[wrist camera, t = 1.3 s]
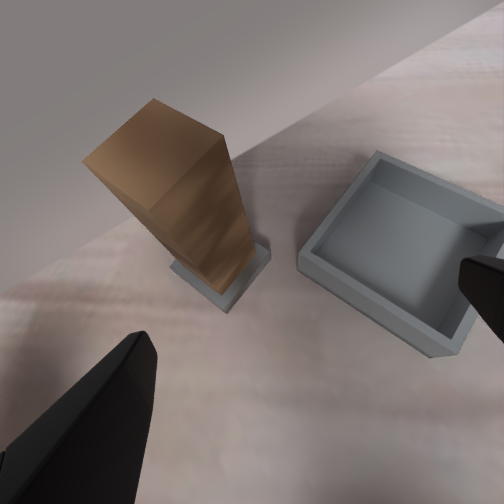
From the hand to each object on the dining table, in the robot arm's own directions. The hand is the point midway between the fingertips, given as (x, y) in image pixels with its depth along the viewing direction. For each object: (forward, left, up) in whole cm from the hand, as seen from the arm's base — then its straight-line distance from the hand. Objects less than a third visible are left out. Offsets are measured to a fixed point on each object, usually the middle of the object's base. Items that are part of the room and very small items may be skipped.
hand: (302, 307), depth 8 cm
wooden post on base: (+2, +9, -15) cm, 17 cm away
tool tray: (+11, -2, -15) cm, 18 cm away
